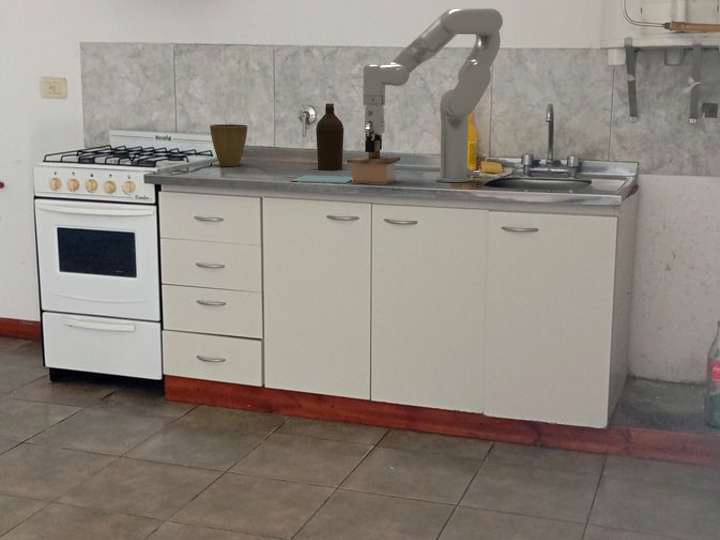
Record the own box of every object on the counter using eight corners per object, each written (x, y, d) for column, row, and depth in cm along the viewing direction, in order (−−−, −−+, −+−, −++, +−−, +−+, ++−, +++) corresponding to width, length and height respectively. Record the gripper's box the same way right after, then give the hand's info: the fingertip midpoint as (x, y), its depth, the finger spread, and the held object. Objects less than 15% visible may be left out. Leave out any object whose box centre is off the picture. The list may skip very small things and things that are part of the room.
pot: (394, 180, 370) (395, 160, 368) (386, 184, 358) (386, 163, 357) (362, 179, 373) (362, 159, 371) (352, 183, 361) (352, 162, 360)
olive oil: (343, 170, 401) (343, 104, 396) (316, 170, 401) (315, 104, 396) (343, 167, 412) (343, 103, 407) (316, 167, 412) (316, 103, 407)
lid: (400, 160, 369) (400, 139, 368) (389, 164, 355) (390, 143, 354) (359, 159, 373) (359, 138, 372) (347, 163, 359) (347, 142, 358)
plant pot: (204, 167, 414) (203, 126, 411) (219, 163, 428) (218, 123, 425) (240, 168, 410) (239, 126, 407) (254, 164, 424) (253, 124, 421)
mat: (358, 178, 376) (358, 177, 376) (345, 183, 361) (345, 182, 360) (305, 176, 381) (305, 175, 381) (290, 181, 366) (290, 180, 366)
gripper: (378, 102, 351) (377, 153, 354) (390, 100, 367) (390, 149, 371) (356, 101, 353) (356, 152, 356) (370, 99, 369) (369, 148, 373)
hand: (373, 151), depth 363 cm, fingers open, 9 cm apart
